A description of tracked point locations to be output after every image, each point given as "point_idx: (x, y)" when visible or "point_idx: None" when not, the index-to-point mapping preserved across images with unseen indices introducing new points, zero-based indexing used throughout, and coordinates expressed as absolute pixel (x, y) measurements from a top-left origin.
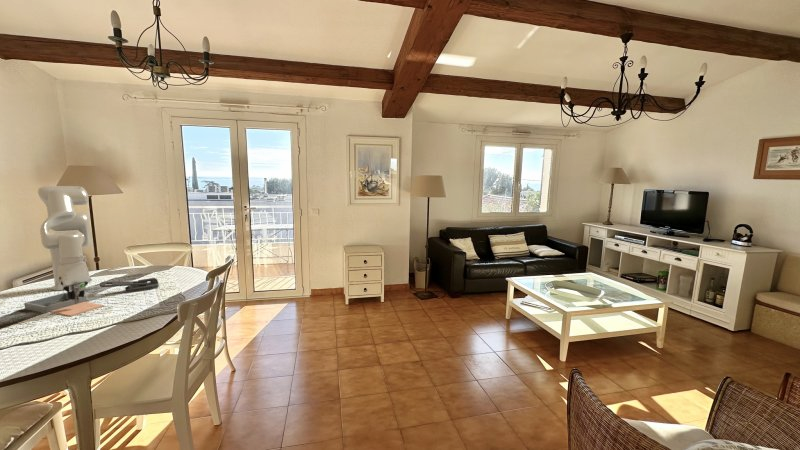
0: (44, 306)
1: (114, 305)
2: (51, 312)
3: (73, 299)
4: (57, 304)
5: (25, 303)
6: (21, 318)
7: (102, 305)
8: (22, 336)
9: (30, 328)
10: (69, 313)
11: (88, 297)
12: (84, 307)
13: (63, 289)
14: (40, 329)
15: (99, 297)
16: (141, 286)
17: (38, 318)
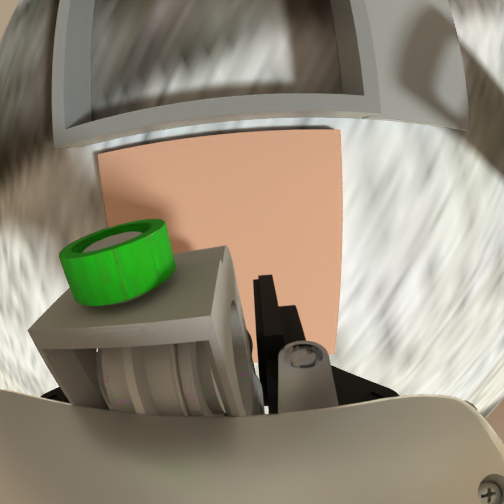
0: (57, 122)
1: (359, 376)
2: (102, 161)
3: None
4: (131, 130)
5: None
6: (5, 131)
7: (328, 352)
8: (16, 385)
9: (20, 340)
10: None
11: (402, 61)
12: None
13: (61, 397)
14: (47, 383)
15: (440, 125)
16: None
17: (39, 221)
